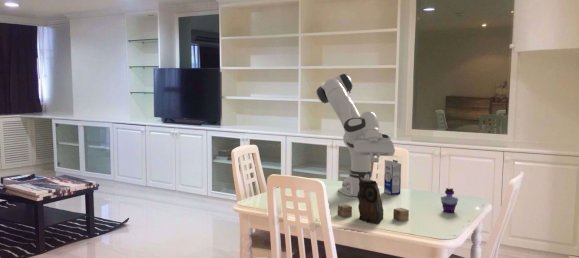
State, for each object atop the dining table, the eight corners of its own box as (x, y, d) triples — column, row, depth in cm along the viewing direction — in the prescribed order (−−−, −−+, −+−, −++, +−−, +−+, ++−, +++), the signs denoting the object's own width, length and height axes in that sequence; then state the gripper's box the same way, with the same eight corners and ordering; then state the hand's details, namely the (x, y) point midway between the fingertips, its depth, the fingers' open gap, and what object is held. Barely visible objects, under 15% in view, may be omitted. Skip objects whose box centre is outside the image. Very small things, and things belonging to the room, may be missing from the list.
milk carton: (383, 192, 274) (384, 159, 272) (393, 191, 277) (393, 158, 275) (391, 195, 268) (391, 161, 266) (400, 193, 270) (401, 160, 268)
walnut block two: (393, 219, 220) (393, 208, 220) (401, 217, 223) (401, 207, 222) (400, 221, 216) (400, 211, 216) (408, 220, 218) (408, 209, 218)
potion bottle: (459, 210, 235) (460, 187, 234) (456, 214, 227) (456, 191, 226) (442, 208, 239) (442, 185, 238) (438, 212, 232) (438, 188, 231)
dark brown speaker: (379, 225, 211) (380, 182, 209) (352, 222, 215) (353, 180, 213) (384, 217, 222) (385, 177, 221) (358, 214, 227) (359, 175, 225)
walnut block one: (337, 215, 227) (337, 205, 226) (345, 214, 229) (345, 203, 229) (343, 217, 222) (343, 207, 222) (351, 216, 225) (351, 206, 224)
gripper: (352, 134, 230) (355, 157, 221) (393, 135, 231) (397, 158, 222) (351, 142, 235) (353, 164, 226) (390, 143, 236) (394, 165, 227)
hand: (375, 161), depth 224 cm, fingers closed
